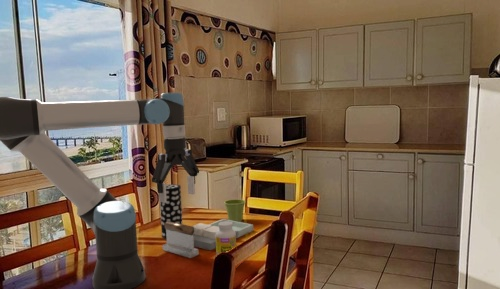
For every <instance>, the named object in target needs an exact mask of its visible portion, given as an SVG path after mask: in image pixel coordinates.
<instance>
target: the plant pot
mask: <svg viewBox="0 0 500 289" xmlns="http://www.w3.org/2000/svg"><path fill="white" fill-rule="evenodd" d="M223 203H224V205H225V208H226V213H227V220H232V221H237V222H243V218H244V207H245V205H246V204H245V203H246V200H244V199H239V198H237V199H236V198H235V199H234V198H233V199H227V200H225V201H224V202H223Z"/></svg>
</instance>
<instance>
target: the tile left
mask: <svg viewBox="0 0 500 289" xmlns="http://www.w3.org/2000/svg"><path fill="white" fill-rule="evenodd" d="M192 226H193V227H194V233H193V234H195V235H199V236H203V230H204V229H207V228H209V227H212V225H209V224H208V223H204V222H203V223H202V222H201V223H200V222H199V223H197V224H194V225H192Z"/></svg>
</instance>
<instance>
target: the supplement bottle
mask: <svg viewBox="0 0 500 289" xmlns="http://www.w3.org/2000/svg"><path fill="white" fill-rule="evenodd" d="M218 227H219V230H218V231H217V232H216V248H215V250H216V251H215V253H216V255H218V254H219V253H221V252H226V251H229V250H231V249H232V248H234V247H236V248H237V238H236V232H235V231H234V230H233V229H232V227H233V224H232V222H230V221H223V222H220V223H219V224H218Z"/></svg>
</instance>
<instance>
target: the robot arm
mask: <svg viewBox="0 0 500 289" xmlns="http://www.w3.org/2000/svg"><path fill="white" fill-rule="evenodd" d="M160 124H162V135H163V138H164V139H163V149H164V150H165V153H158V154H157V161H156V165H155V167H154V172H153V175H152V177H151V183H154V184H156V185H157V186H156V190H157V193H158V198H159V203H160V202H163V203H166V202H167V200H166V185H167V184H166V183H165V180H166V178H167V176H168V174H169V173H170V171H171V169H172V168H173V167H174V166H177V165H180V166H182V167H183V169H184V170H185V172H186V173H187V174H188V175H187V192H188V195H195V194H196V191H195V190H196V188H195V184H196V177H197V176H198V174H199V173H200V169H199V168H198V165H197V163H196V161H195V158H194V156H193V151H192V149H186V148H187V142H186V141H187V140H186V126H185V103H184V95H183V94H182V93H181V92H164V93H163V92H162V93H160V98H150V99H148V98H143V99H118V100H117V99H115V100H113V99H112V100H87V101H83V100H81V101H55V102H53V101H52V102H42V101H40V100H39V99H38V98H35V99H34V98H33V99H26V98H25V99H24V98H17V97H16V98H15V97H13V96H0V143H2V144H3V145H4V146H5V147H6V148H7V149H8V150H9V151H11V152H19V153H21V155H22V156H23V157H24V158H26V160H28V161H29V162H30V163H31V165H32V166H34V167H35V168H36V169H37V170H38V171H39V172H40V173H41V174H42V175H43V176H44V177H45V178H46V179H47V180H49V182H50V183H51V184H52V185H54V187H56V189H58V190H59V191H60V192H61V194H63V195H64V196H65V197H66V198H67V199H68V200H69V201H70V202H71V203H72V204H73V206H75V207H76V215H77V216H78V217H79V218H81V220H82V221H84V223H85V224H87V226H88V227H89V228H90V229H91V230H92V232H93V234H94V235H95V236H94V238H95V249H96V263H95V267H94V270H93V271H94V272H93V275H92V278H91V279H92V288H93V289H135V288H136V287H138V286H140V285H141V284H143V283H144V282H145V280H146V272H145V267H144V264H143V263H142V261H141V259H140V256H139V253H138V252H139V251H138V239H137V238H138V237H137V222H136V220H137V214H136V210H135V207H134V205H133V204H131V203H130V202H129V201H128V202H127V201H124V200H118V199H117V198H115V196H113V194H112V193H111V192H110V191H109V190H108V189H107V188H106V187H105V188H99V187H98V186H97V185H96V184H95V183H94V182H93V181H92V180H91V179H90V178H89V177H88V175H86V174H85V173H84V171H83V170H81V169H80V167H78V166H77V164H76V163H75V162H74V161H72V159H70V157H69V156H67V154H66V153H65V152H64V151H63V150H62V149H61V148H60V147H59V146H58V145H57V143H55V142H54V141H53V140H52V139H51V138H50V137H49V136H48V135H47V134H46V133H45V132H46V131H60V130H74V129H75V130H76V129H91V128H92V129H93V128H105V127H106V128H108V127H121V126H135V125H136V126H137V125H160Z"/></svg>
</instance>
